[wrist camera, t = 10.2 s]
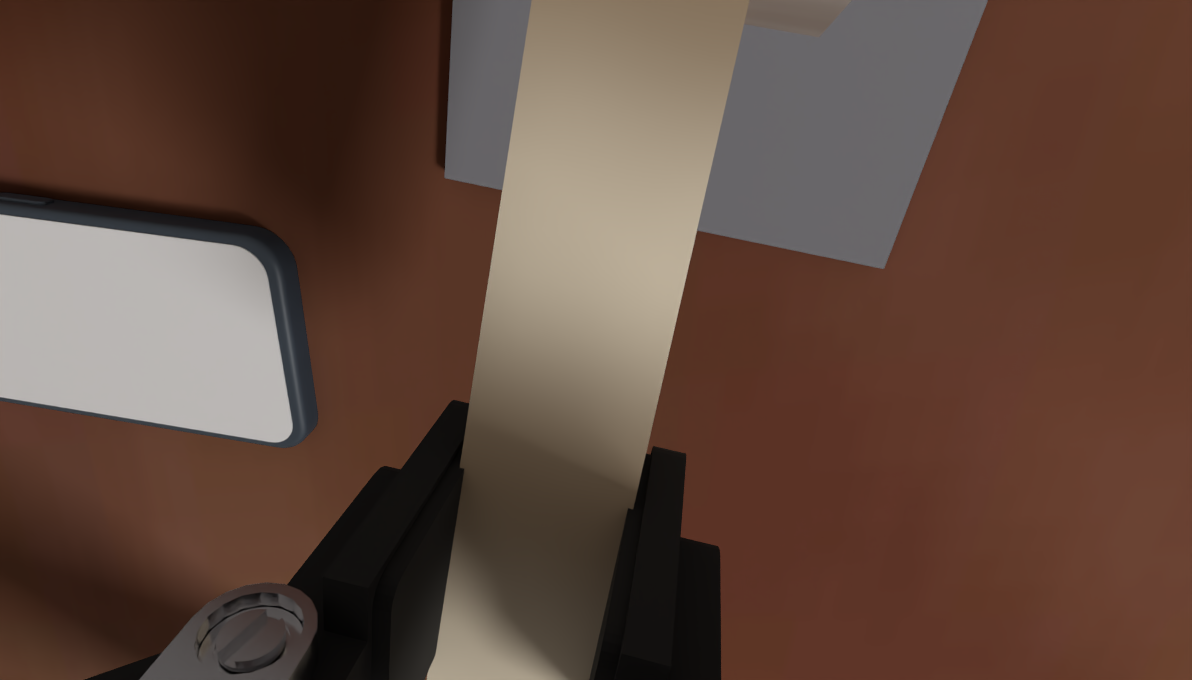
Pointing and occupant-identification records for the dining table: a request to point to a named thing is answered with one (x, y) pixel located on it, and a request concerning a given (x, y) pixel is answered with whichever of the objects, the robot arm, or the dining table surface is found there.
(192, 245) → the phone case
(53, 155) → the dining table surface
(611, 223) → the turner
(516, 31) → the mat
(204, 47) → the dining table surface
